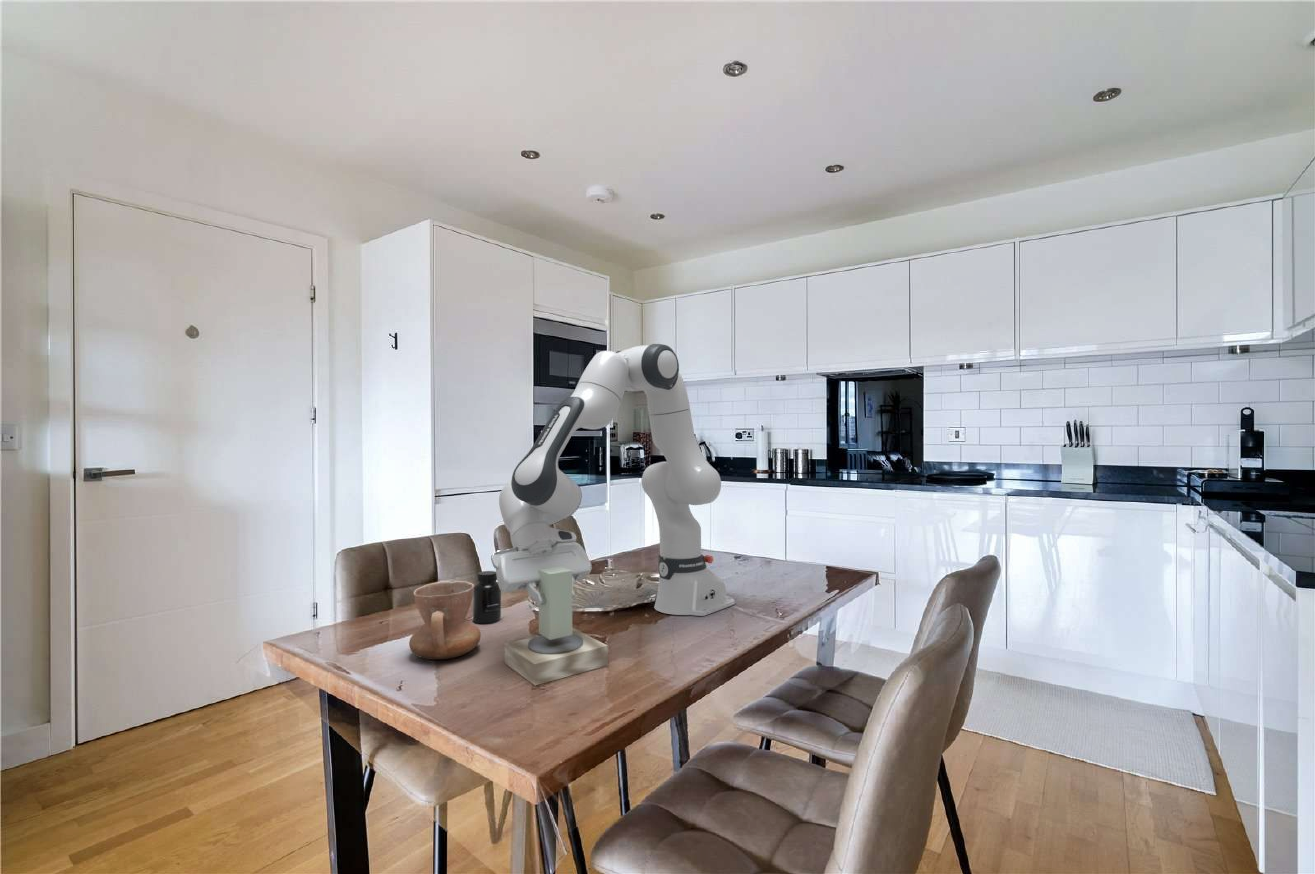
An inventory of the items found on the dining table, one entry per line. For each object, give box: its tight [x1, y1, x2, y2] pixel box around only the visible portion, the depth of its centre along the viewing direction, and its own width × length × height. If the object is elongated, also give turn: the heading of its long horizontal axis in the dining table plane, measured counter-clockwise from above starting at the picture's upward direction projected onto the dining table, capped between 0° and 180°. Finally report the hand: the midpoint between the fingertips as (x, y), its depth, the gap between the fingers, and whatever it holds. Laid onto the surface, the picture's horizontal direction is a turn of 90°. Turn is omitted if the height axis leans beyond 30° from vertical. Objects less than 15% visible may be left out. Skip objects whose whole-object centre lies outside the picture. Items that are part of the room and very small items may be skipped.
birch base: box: [504, 627, 609, 686], centre depth 124 cm, size 16×14×5 cm
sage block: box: [537, 567, 573, 640], centre depth 124 cm, size 5×5×13 cm
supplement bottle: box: [472, 570, 502, 625], centre depth 153 cm, size 7×7×12 cm
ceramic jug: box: [408, 580, 482, 660], centre depth 130 cm, size 18×14×14 cm
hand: (556, 600), depth 123 cm, fingers closed on sage block, 5 cm apart
